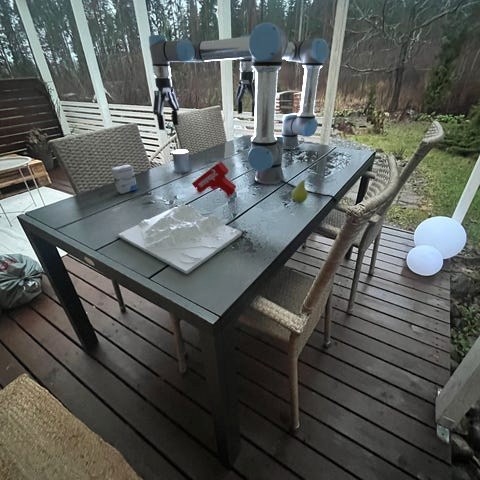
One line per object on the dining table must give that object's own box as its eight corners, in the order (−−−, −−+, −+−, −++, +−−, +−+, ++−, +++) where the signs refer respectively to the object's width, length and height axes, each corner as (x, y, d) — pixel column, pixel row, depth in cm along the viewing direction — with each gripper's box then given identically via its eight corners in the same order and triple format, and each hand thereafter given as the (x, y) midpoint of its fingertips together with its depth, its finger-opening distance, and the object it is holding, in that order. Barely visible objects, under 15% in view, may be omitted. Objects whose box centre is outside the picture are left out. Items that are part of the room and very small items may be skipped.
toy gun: (240, 187, 127) (221, 160, 123) (237, 190, 124) (218, 163, 120) (214, 205, 137) (195, 180, 133) (210, 208, 134) (191, 183, 130)
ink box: (133, 186, 138) (127, 163, 132) (137, 189, 135) (132, 165, 129) (116, 191, 133) (110, 167, 127) (121, 194, 130) (114, 170, 124)
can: (192, 168, 162) (190, 149, 156) (187, 173, 155) (185, 154, 149) (177, 168, 164) (175, 149, 158) (172, 173, 156) (169, 153, 150)
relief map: (186, 274, 80) (184, 260, 77) (118, 236, 97) (114, 224, 95) (241, 234, 98) (241, 222, 95) (176, 209, 116) (174, 198, 113)
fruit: (288, 200, 123) (290, 174, 116) (302, 197, 125) (305, 172, 119) (296, 206, 118) (299, 179, 111) (310, 203, 120) (314, 177, 114)
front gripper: (169, 76, 134) (174, 122, 146) (139, 78, 114) (148, 131, 126) (182, 76, 132) (187, 123, 144) (154, 78, 113) (162, 132, 124)
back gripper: (228, 71, 150) (229, 113, 162) (256, 71, 133) (255, 118, 145) (239, 71, 154) (239, 111, 166) (267, 71, 137) (266, 116, 149)
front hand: (169, 127), depth 135 cm, fingers open, 13 cm apart
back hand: (246, 115), depth 155 cm, fingers open, 13 cm apart
